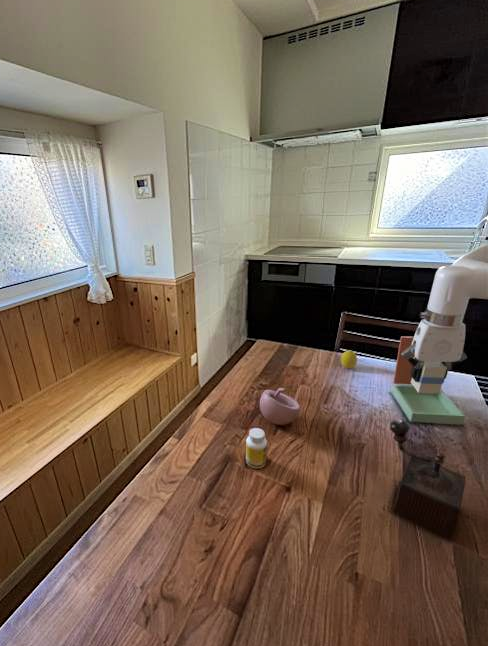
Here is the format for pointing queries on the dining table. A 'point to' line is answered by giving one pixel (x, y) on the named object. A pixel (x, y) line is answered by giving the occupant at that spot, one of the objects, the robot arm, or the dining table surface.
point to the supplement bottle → (256, 448)
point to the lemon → (348, 359)
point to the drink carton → (430, 377)
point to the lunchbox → (427, 406)
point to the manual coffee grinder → (427, 489)
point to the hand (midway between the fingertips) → (427, 379)
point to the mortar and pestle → (278, 407)
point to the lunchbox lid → (403, 363)
